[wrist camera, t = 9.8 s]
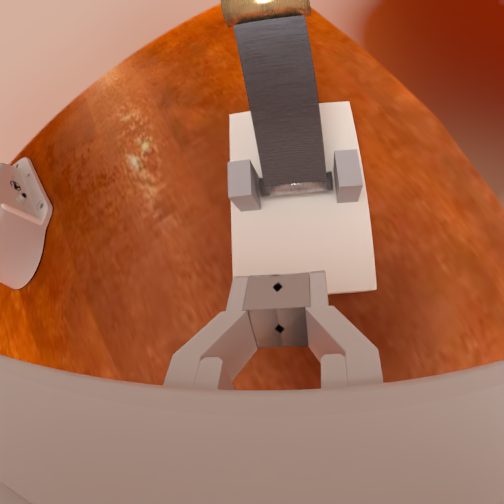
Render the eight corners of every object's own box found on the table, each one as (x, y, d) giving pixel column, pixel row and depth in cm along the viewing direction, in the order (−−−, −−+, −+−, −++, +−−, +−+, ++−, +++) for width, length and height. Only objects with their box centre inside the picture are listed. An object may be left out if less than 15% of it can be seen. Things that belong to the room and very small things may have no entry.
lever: (334, 196, 25) (305, -18, 15) (260, 202, 26) (218, -5, 16) (331, 183, 27) (304, -12, 17) (263, 189, 28) (226, 0, 18)
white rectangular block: (368, 291, 29) (387, 286, 20) (245, 299, 31) (217, 297, 23) (347, 124, 32) (351, 73, 23) (240, 135, 34) (216, 89, 26)
